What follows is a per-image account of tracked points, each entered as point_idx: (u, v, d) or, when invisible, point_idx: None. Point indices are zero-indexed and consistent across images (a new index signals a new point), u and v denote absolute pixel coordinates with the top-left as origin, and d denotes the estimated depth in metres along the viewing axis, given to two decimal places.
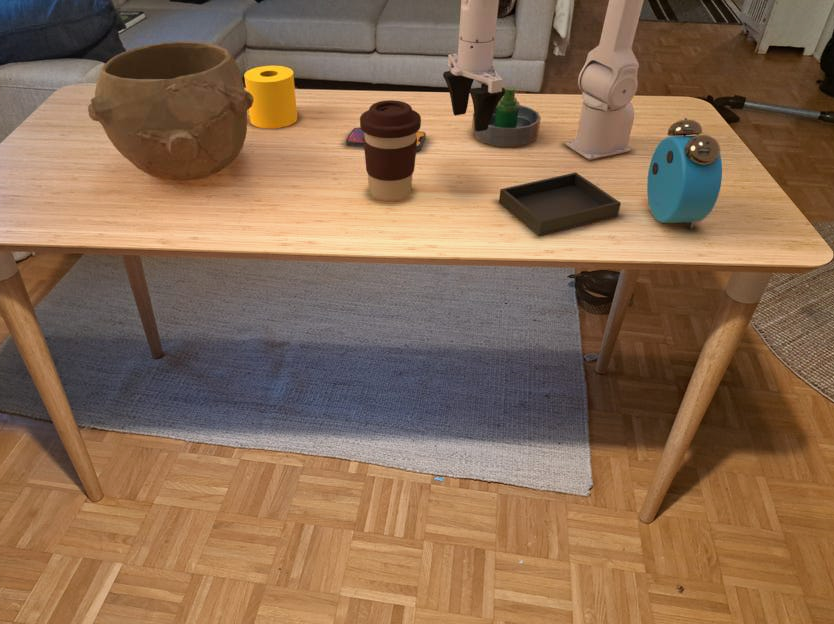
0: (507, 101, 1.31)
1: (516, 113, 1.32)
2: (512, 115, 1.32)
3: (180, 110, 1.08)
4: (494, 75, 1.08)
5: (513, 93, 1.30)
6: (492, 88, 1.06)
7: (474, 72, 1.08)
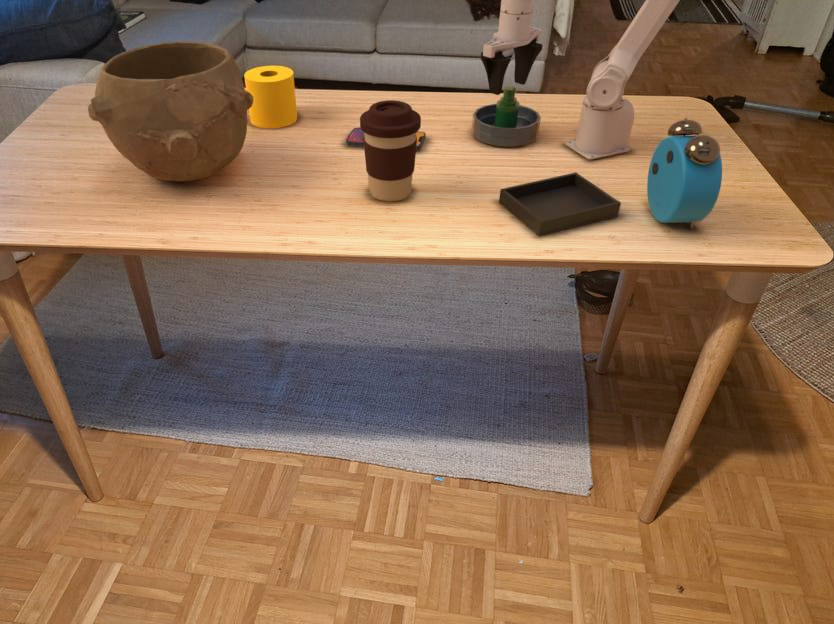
0: (507, 101, 1.31)
1: (516, 113, 1.32)
2: (512, 115, 1.32)
3: (180, 110, 1.08)
4: None
5: (513, 93, 1.30)
6: (483, 51, 1.21)
7: (498, 38, 1.23)
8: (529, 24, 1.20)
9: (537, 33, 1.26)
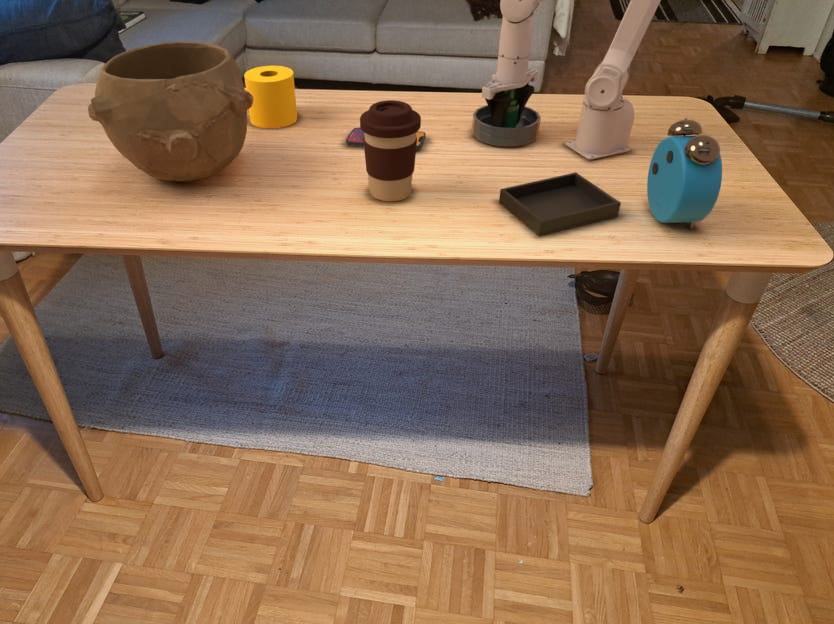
0: None
1: (516, 113, 1.32)
2: (512, 116, 1.32)
3: (180, 110, 1.08)
4: (498, 87, 1.27)
5: (513, 93, 1.30)
6: (482, 93, 1.27)
7: (496, 80, 1.29)
8: (526, 67, 1.27)
9: (534, 74, 1.32)
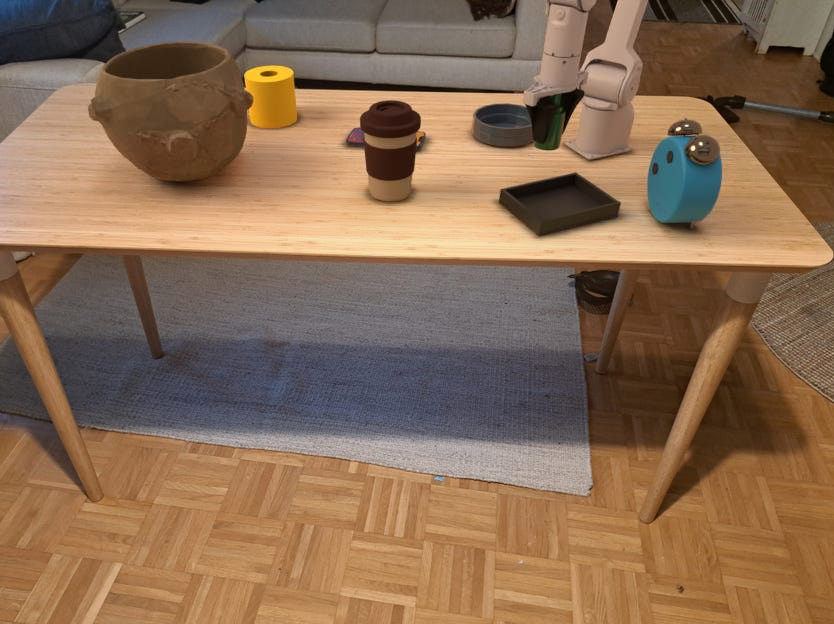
0: None
1: (562, 122, 1.11)
2: (557, 125, 1.11)
3: (180, 110, 1.08)
4: (544, 91, 1.05)
5: (559, 98, 1.09)
6: (524, 98, 1.06)
7: (539, 82, 1.08)
8: (576, 68, 1.05)
9: (584, 76, 1.10)
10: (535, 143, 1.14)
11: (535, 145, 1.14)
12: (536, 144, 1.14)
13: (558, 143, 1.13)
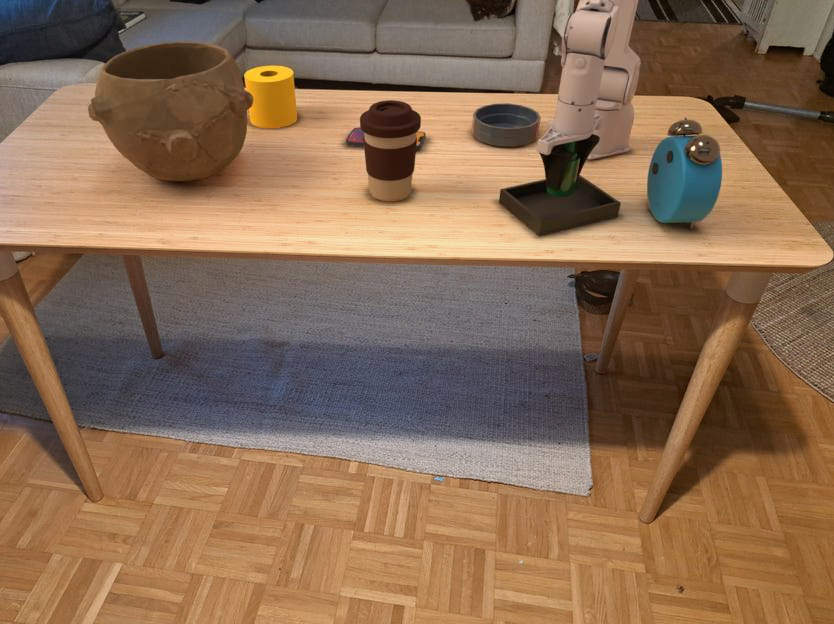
0: None
1: (576, 169, 1.07)
2: (571, 172, 1.07)
3: (180, 110, 1.08)
4: (558, 139, 1.02)
5: (573, 145, 1.05)
6: (537, 147, 1.02)
7: (553, 129, 1.04)
8: (592, 115, 1.01)
9: (599, 121, 1.07)
10: (548, 189, 1.10)
11: (548, 191, 1.11)
12: (549, 190, 1.10)
13: (572, 189, 1.10)
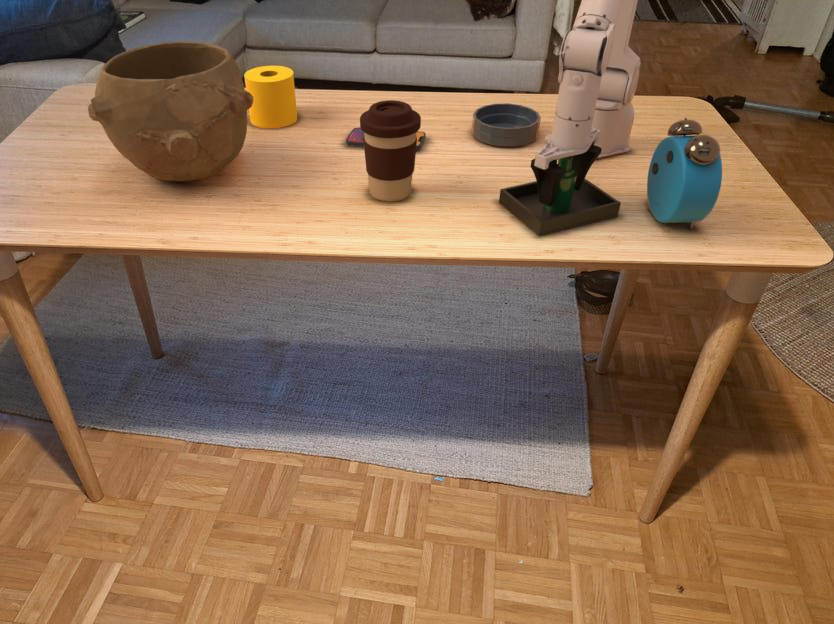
0: None
1: (573, 185, 1.09)
2: (568, 189, 1.09)
3: (180, 110, 1.08)
4: (556, 154, 1.03)
5: (570, 162, 1.07)
6: (535, 161, 1.03)
7: (551, 144, 1.05)
8: (589, 130, 1.03)
9: (596, 135, 1.08)
10: (545, 205, 1.12)
11: (545, 207, 1.12)
12: (546, 206, 1.12)
13: (569, 205, 1.11)
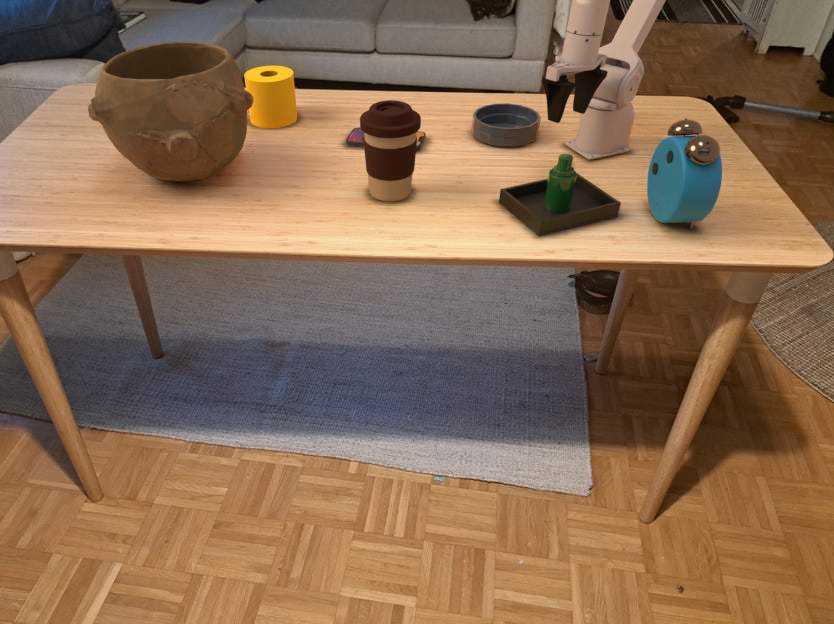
0: (563, 172, 1.08)
1: (573, 185, 1.09)
2: (568, 189, 1.09)
3: (180, 110, 1.08)
4: None
5: (570, 162, 1.07)
6: (547, 74, 1.10)
7: (561, 61, 1.12)
8: (598, 47, 1.10)
9: (602, 58, 1.15)
10: (545, 205, 1.12)
11: (545, 207, 1.12)
12: (546, 206, 1.12)
13: (569, 205, 1.11)
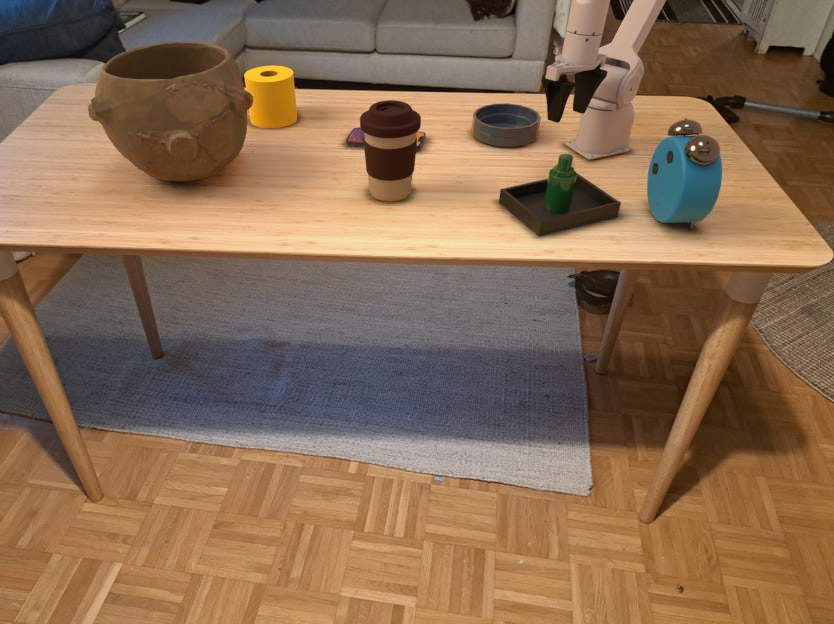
0: (563, 172, 1.08)
1: (573, 185, 1.09)
2: (568, 189, 1.09)
3: (180, 110, 1.08)
4: (566, 67, 1.09)
5: (570, 162, 1.07)
6: (547, 73, 1.10)
7: (561, 60, 1.12)
8: (598, 47, 1.10)
9: (602, 58, 1.15)
10: (545, 205, 1.12)
11: (545, 207, 1.12)
12: (546, 206, 1.12)
13: (569, 205, 1.11)
